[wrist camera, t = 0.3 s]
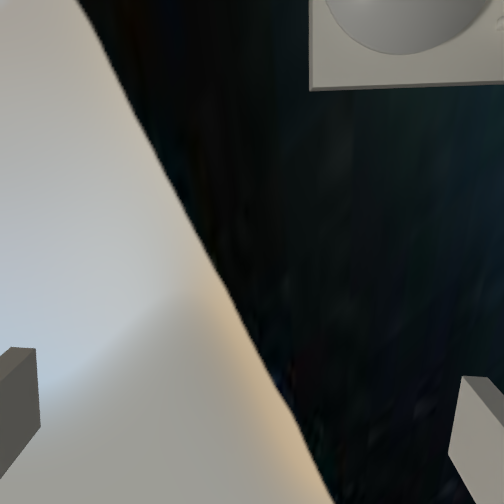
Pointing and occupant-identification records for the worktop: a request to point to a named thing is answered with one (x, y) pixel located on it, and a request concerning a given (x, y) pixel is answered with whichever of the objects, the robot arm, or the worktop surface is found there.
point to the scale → (405, 43)
